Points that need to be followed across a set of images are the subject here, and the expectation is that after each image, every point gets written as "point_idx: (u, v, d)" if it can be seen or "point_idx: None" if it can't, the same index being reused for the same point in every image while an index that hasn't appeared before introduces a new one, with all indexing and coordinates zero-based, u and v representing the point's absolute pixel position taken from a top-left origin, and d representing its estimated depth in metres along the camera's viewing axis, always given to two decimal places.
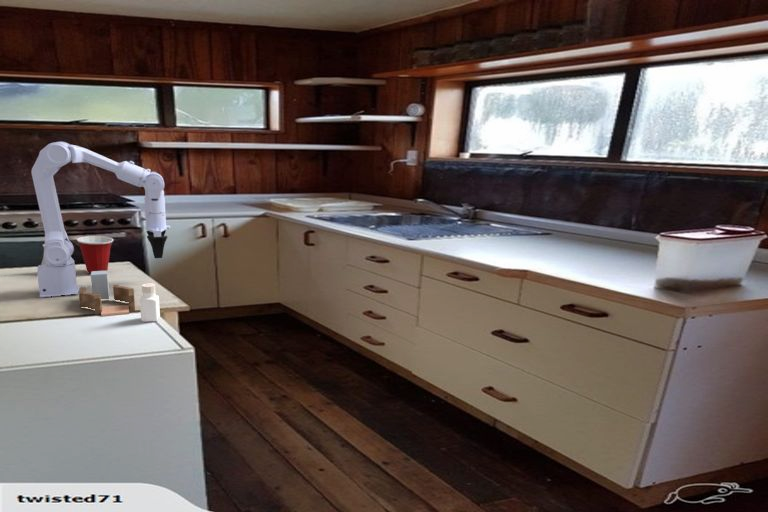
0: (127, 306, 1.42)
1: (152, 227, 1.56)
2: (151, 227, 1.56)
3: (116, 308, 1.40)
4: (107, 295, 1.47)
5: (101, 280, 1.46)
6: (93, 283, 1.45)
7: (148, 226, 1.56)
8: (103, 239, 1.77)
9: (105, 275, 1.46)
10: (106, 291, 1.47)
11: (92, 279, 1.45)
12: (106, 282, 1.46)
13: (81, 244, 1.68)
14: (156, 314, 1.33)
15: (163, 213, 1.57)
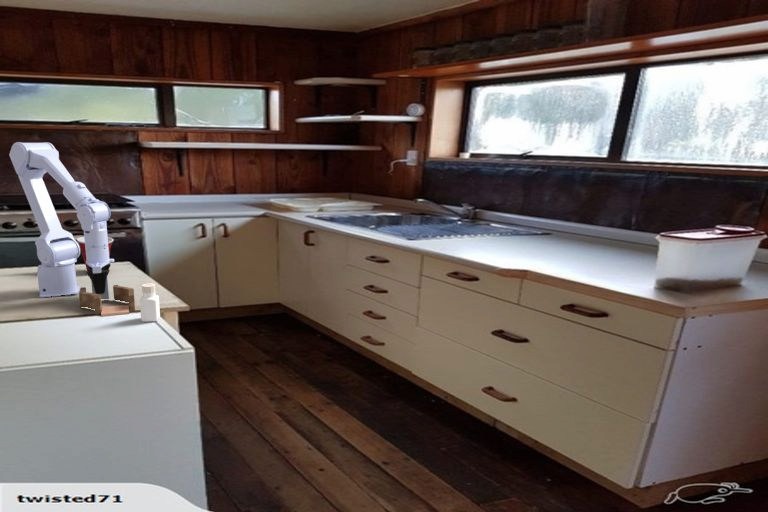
0: (127, 306, 1.42)
1: (92, 262, 1.43)
2: (91, 262, 1.43)
3: (116, 308, 1.40)
4: (107, 295, 1.47)
5: None
6: None
7: (88, 261, 1.43)
8: None
9: None
10: (106, 291, 1.47)
11: None
12: (106, 282, 1.46)
13: (81, 244, 1.68)
14: (156, 314, 1.33)
15: (105, 246, 1.44)
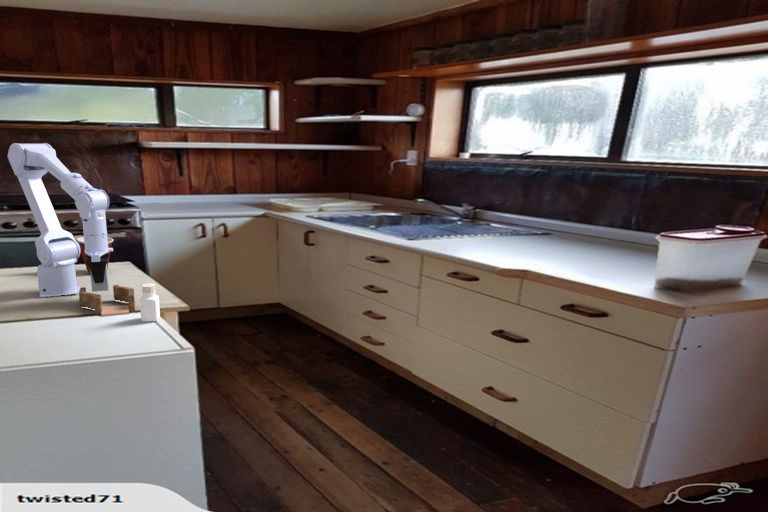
0: (127, 306, 1.42)
1: (91, 250, 1.41)
2: (90, 250, 1.41)
3: (116, 308, 1.40)
4: (106, 285, 1.45)
5: None
6: None
7: (87, 249, 1.41)
8: None
9: None
10: (105, 281, 1.45)
11: None
12: (105, 271, 1.44)
13: (81, 244, 1.68)
14: (156, 314, 1.33)
15: (104, 235, 1.42)
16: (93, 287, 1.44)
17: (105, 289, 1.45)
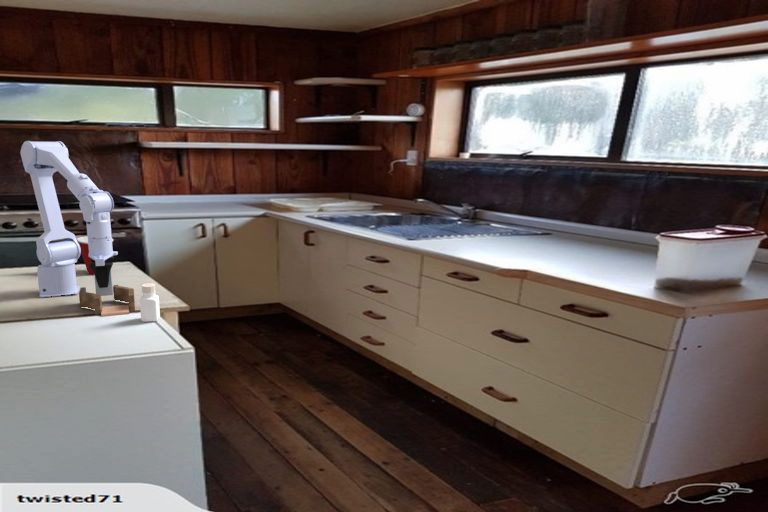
0: (127, 306, 1.42)
1: (95, 254, 1.37)
2: (94, 254, 1.37)
3: (116, 308, 1.40)
4: (111, 289, 1.41)
5: None
6: None
7: (91, 253, 1.37)
8: None
9: None
10: (110, 285, 1.41)
11: None
12: (110, 276, 1.40)
13: (81, 244, 1.68)
14: (156, 314, 1.33)
15: (108, 238, 1.38)
16: (97, 291, 1.40)
17: (109, 294, 1.41)
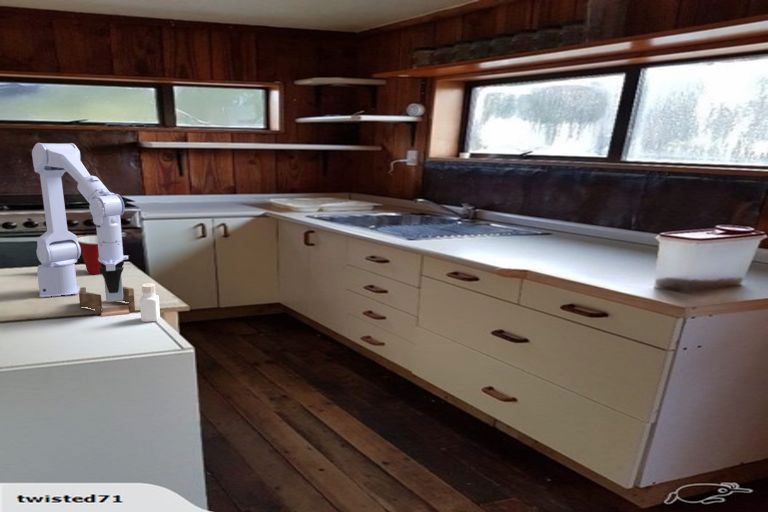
0: (127, 306, 1.42)
1: (105, 259, 1.33)
2: (104, 259, 1.33)
3: (116, 308, 1.40)
4: (121, 294, 1.38)
5: None
6: None
7: (101, 257, 1.34)
8: None
9: None
10: (120, 290, 1.37)
11: None
12: (120, 280, 1.37)
13: (81, 244, 1.68)
14: (156, 314, 1.33)
15: (119, 242, 1.35)
16: (108, 297, 1.36)
17: (120, 299, 1.38)
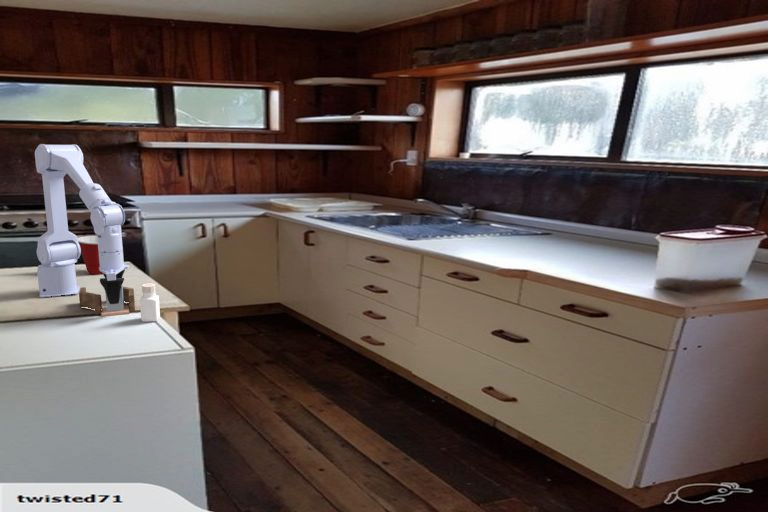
0: (127, 306, 1.42)
1: (106, 268, 1.34)
2: (105, 268, 1.34)
3: None
4: (122, 304, 1.38)
5: None
6: None
7: (102, 267, 1.34)
8: None
9: None
10: (121, 300, 1.38)
11: None
12: (121, 291, 1.37)
13: (81, 244, 1.68)
14: (156, 314, 1.33)
15: (119, 251, 1.35)
16: (108, 307, 1.37)
17: (120, 309, 1.38)
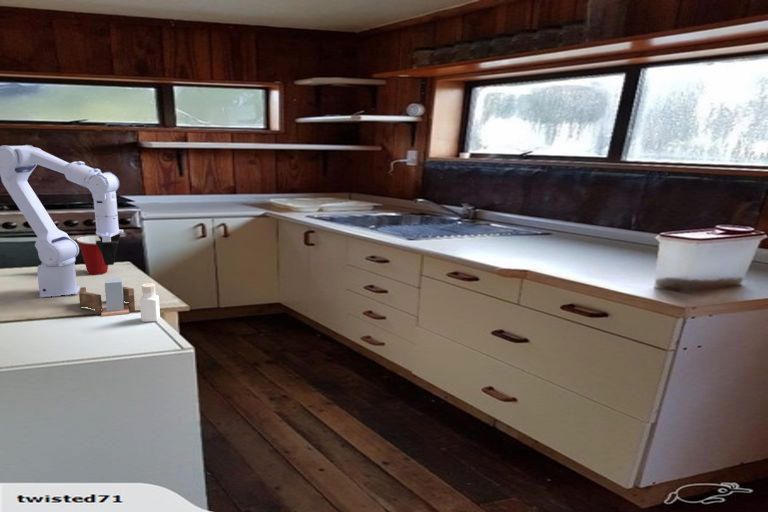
0: (127, 306, 1.42)
1: (102, 231, 1.45)
2: (101, 231, 1.45)
3: None
4: (122, 304, 1.38)
5: (115, 289, 1.37)
6: (107, 292, 1.36)
7: (98, 230, 1.45)
8: None
9: (120, 283, 1.37)
10: (121, 300, 1.38)
11: (106, 287, 1.36)
12: (121, 291, 1.37)
13: (81, 244, 1.68)
14: (156, 314, 1.33)
15: (114, 216, 1.46)
16: (108, 307, 1.37)
17: (120, 309, 1.38)
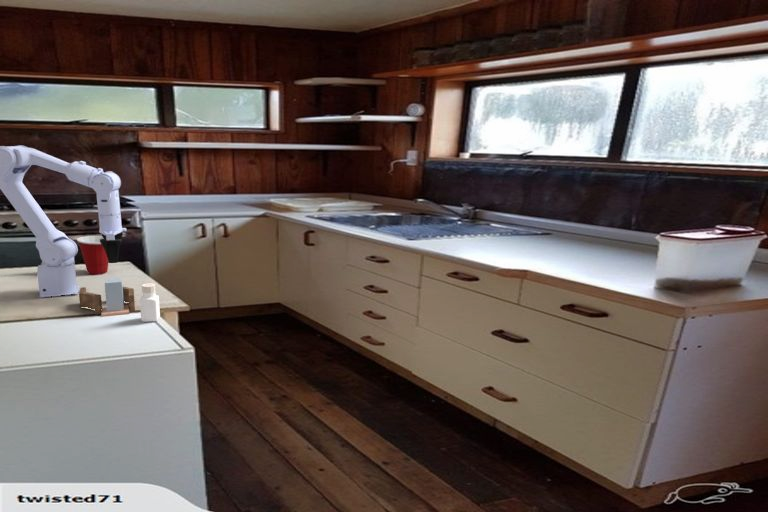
0: (127, 306, 1.42)
1: (106, 230, 1.47)
2: (105, 230, 1.47)
3: None
4: (122, 304, 1.38)
5: (115, 289, 1.37)
6: (107, 292, 1.36)
7: (101, 229, 1.47)
8: None
9: (120, 283, 1.37)
10: (121, 300, 1.38)
11: (106, 287, 1.36)
12: (121, 291, 1.37)
13: (81, 244, 1.68)
14: (156, 314, 1.33)
15: (117, 215, 1.48)
16: (108, 307, 1.37)
17: (120, 309, 1.38)
